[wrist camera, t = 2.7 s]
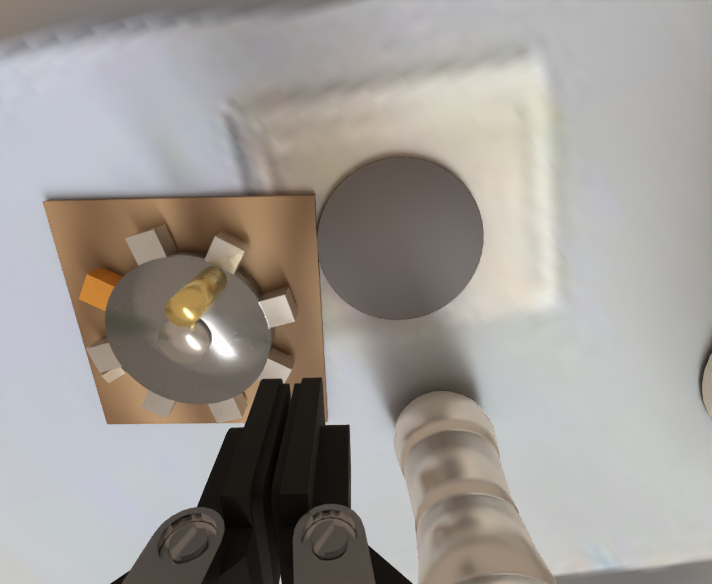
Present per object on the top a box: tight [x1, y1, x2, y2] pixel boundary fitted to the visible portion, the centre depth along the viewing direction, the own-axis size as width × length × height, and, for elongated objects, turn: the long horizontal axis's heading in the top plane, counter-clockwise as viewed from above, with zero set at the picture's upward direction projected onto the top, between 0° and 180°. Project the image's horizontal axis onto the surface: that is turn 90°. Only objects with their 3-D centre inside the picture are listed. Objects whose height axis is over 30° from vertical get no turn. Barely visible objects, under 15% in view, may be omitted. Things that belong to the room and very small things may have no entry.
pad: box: [317, 157, 483, 320], centre depth 26 cm, size 10×10×1 cm
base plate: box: [43, 195, 328, 424], centre depth 28 cm, size 16×16×1 cm
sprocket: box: [79, 224, 298, 424], centre depth 24 cm, size 13×13×6 cm
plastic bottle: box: [394, 391, 557, 584], centre depth 21 cm, size 6×7×20 cm
